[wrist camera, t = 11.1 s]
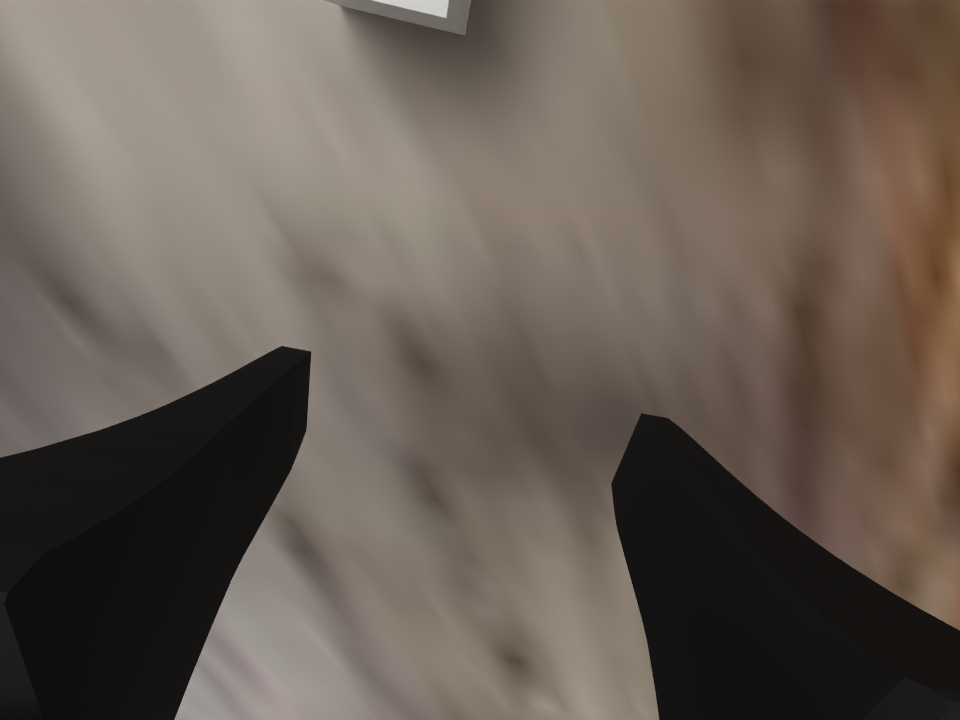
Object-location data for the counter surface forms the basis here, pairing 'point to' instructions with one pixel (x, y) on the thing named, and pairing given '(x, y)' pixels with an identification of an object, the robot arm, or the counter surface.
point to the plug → (418, 12)
